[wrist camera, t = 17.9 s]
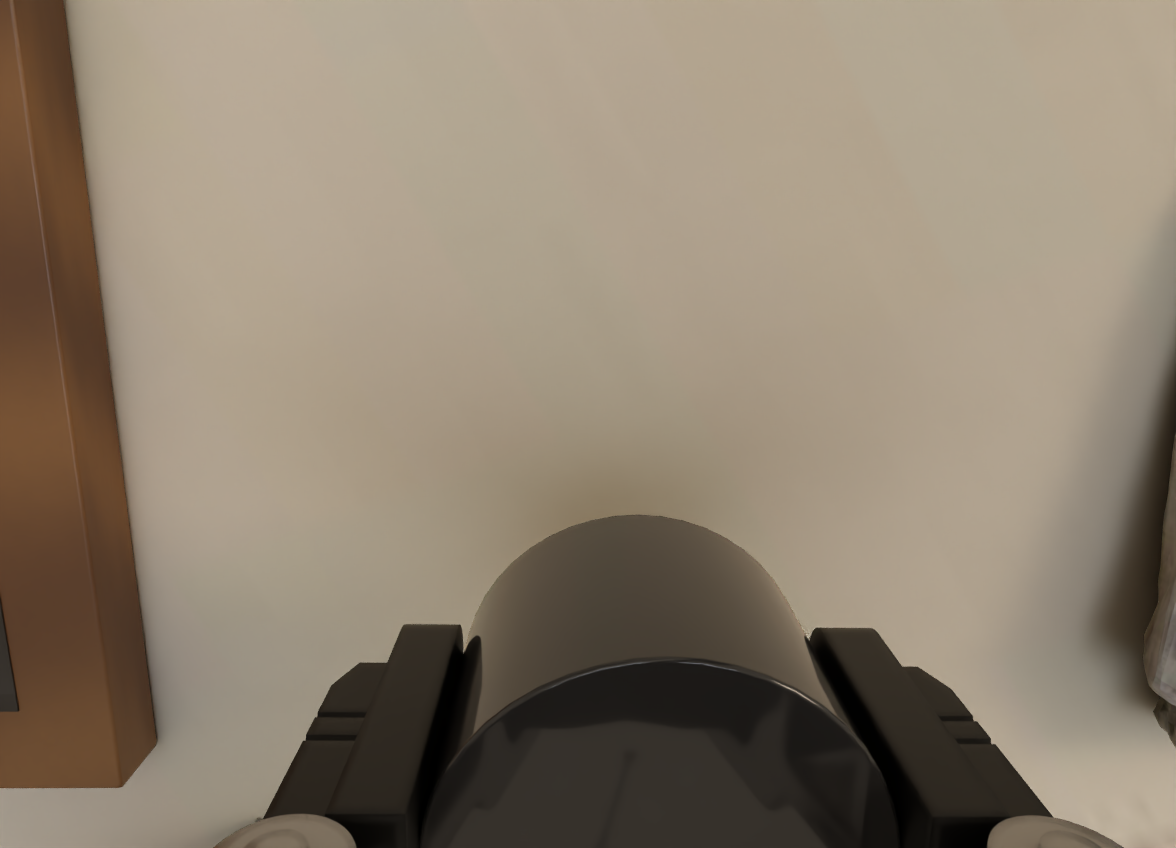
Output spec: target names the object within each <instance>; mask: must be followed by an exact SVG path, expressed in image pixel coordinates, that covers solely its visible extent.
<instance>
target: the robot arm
mask: <svg viewBox="0 0 1176 848" xmlns="http://www.w3.org/2000/svg"><path fill="white" fill-rule="evenodd" d="M810 643H811V645H812V647H813V648H814V650H815V652H816V654H817V656H818V658H819V659H820V661H821V663H822V665H823V667H824V668H825V670H826V672H827V674H828V676H829V677H830V679H831V681H832V683H833V685H834V686H835V688H836V690H837V692H838V694H839V695H840V697H841V699H842V701H843V703H844V704H845V706H846V708H847V710H848V712H849V714H850V715H851V717H852V719H853V721H854V723H855V724H856V726H857V728H858V730H859V732H860V733H861V735H862V737H863V739H864V741H865V742H866V744H867V746H868V748H869V750H870V751H871V753H872V755H873V757H874V759H875V760H876V762H877V764H878V766H879V768H880V770H881V772H882V774H883V776H884V779H885V781H886V783H887V785H888V788H889V790H890V792H891V794H892V798H893V802H894V805H895V809H896V813H897V817H898V820H899V829H900V842H901V847H900V848H1123V847H1122V846H1120V845H1119V844H1117V843H1116V842H1114V841H1113V840H1111V839H1109V838H1107V837H1105V836H1103V835H1101V834H1100V833H1098V832H1095V831H1093V830H1091V829H1089V828H1086V827H1084V826H1081V825H1078V824H1075V823H1072V822H1070V821H1066V820H1062V819H1058V818H1054V817H1053V816H1052V815H1051V814H1050V812H1049V811H1048V810H1047V809H1046V807H1045V806H1044V805H1043V804H1042V802H1041V801H1040V800H1039V799H1038V797H1037V796H1036V795H1035V794H1034V792H1033V791H1032V790H1031V789H1030V787H1029V786H1028V785H1027V784H1026V782H1025V781H1024V780H1023V779H1022V777H1021V776H1020V775H1019V774H1018V772H1017V771H1016V770H1015V768H1014V767H1013V766H1012V765H1011V763H1010V762H1009V761H1008V760H1007V758H1006V757H1005V756H1004V755H1003V753H1002V752H1001V751H1000V750H999V748H998V747H997V746H996V745H995V744H991V738H990V737H989V736H988V735H987V733H986V732H985V731H984V730H983V728H982V727H981V726H980V725H979V723H978V722H977V721H973V716H972V714H971V713H970V712H969V711H968V709H967V708H966V707H965V706H964V704H963V703H962V702H961V701H960V699H959V698H958V697H957V696H956V694H955V693H954V692H953V691H952V689H950V688H949V687H947V686H946V685H944V684H943V683H941V682H940V681H938V680H937V679H935V678H934V677H932V676H931V675H929V674H928V673H926V672H925V671H923V670H922V669H920V668H919V667H902V666H901V664H900V663H899V662H898V660H897V659H896V657H895V656H894V655H893V653H892V652H891V651H890V649H889V648H888V646H887V645H886V644H885V642H884V641H883V640H882V638H881V637H880V635H879V634H878V633H877V632H876V631H875V630H874V629H872V628H815V629H814V630H813V632H812V634H811V637H810ZM462 658H463V635H462V628H461V625H437V624H405V625H403V627H402V629H401V631H400V633H399V636H398V638H397V641H396V643H395V645H394V648H393V650H392V653H391V655H390V657H389V660H388V662H387V663H359V664H357V665H356V666H355V667H354V668H352V669H351V670H350V671H349V672H347V673H346V674H345V675H344V676H342V677H341V678H340V679H339V680H337V681H336V682H335V683H334V684H332V685H331V687H330V689H329V691H328V693H327V695H326V697H325V699H324V701H323V703H322V705H321V707H320V709H319V711H318V716H317V717H315V719H314V720H313V722H312V724H311V726H310V728H309V730H308V732H307V734H306V741H303V742H302V744H301V746H300V748H299V750H298V752H297V754H296V756H295V757H294V759H293V761H292V763H291V765H290V767H289V769H288V771H287V773H286V775H285V777H284V779H283V781H282V783H281V785H280V787H279V789H278V791H277V793H276V794H275V796H274V798H273V800H272V802H271V804H270V806H269V808H268V810H267V812H266V814H265V816H264V818H263V820H261V821H258V822H256V823H253V824H250V825H248V826H246V827H244V828H242V829H240V830H238V831H236V832H234V833H233V834H231V835H230V836H228V837H226V838H225V839H223V840H222V841H221V842H220V843H218V844H217V845H216V846H215V847H213V848H419V832H420V827H421V822H422V818H423V814H424V810H425V806H426V802H427V798H428V794H429V790H430V786H431V782H432V778H433V774H434V770H435V766H436V762H437V758H438V754H439V750H440V746H441V742H442V738H443V734H444V730H445V726H446V722H447V718H448V714H449V710H450V706H451V702H452V698H453V694H454V690H455V686H456V682H457V678H458V674H459V670H460V666H461V662H462Z"/></svg>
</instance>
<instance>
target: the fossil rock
mask: <svg viewBox="0 0 1176 848" xmlns="http://www.w3.org/2000/svg"><path fill="white" fill-rule="evenodd" d="M1158 598H1159V602H1158V604H1157V607H1156V609H1155V611H1154V614H1153V616H1152V619H1151V621H1150V623H1149V625H1148V628H1147V630H1146V632H1145V634H1144V653H1143V662H1144V667H1145V672H1146V677H1147V681H1148V685H1149V686H1150V687H1151V688H1152V689H1153V691H1154V692H1155V693H1157V694H1158V695H1159V696H1160V700H1159V701H1158V703H1157V705H1156V707H1155V709H1154V711H1153V712H1154V715H1155V717H1156V719H1157V721H1158V723H1159V725H1160V727H1161V728H1163V729H1164V730H1165V731H1166V732H1168V735H1169V737H1170V739H1171V741H1172V743H1173V744H1174V746H1175V747H1176V434H1175V439H1174V445H1173V452H1172V461H1171V471H1170V480H1169V490H1168V497H1167V503H1166V508H1165V513H1164V521H1163V532H1162V551H1161V566H1160V572H1159V577H1158Z"/></svg>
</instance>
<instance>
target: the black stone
mask: <svg viewBox="0 0 1176 848" xmlns="http://www.w3.org/2000/svg"><path fill="white" fill-rule="evenodd" d="M900 847H901V842H900V829H899V820H898V817H897V813H896V809H895V805H894V802H893V798H892V794H891V792H890V790H889V788H888V785H887V783H886V781H885V779H884V776H883V774H882V772H881V770H880V768H879V766H878V764H877V762H876V760H875V759H874V757H873V755H872V753H871V751H870V750H869V748H868V746H867V744H866V742H865V741H864V739H863V737H862V735H861V733H860V732H859V730H858V728H857V726H856V724H855V723H854V721H853V719H852V717H851V715H850V714H849V712H848V710H847V708H846V706H845V704H844V703H843V701H842V699H841V697H840V695H839V694H838V692H837V690H836V688H835V686H834V685H833V683H832V681H831V679H830V677H829V676H828V674H827V672H826V670H825V668H824V667H823V665H822V663H821V661H820V659H819V658H818V656H817V654H816V652H815V650H814V648H813V647H812V645H811V643H810V641H809V639H808V638H807V636H806V634H805V632H804V630H803V629H802V627H801V625H800V623H799V621H798V620H797V618H796V616H795V614H794V612H793V611H792V609H791V607H790V605H789V603H788V602H787V600H786V598H785V596H784V595H783V593H782V592H781V590H780V588H779V587H778V585H777V584H776V582H775V581H774V579H773V578H772V577H771V576H770V575H769V574H768V572H767V571H766V570H765V569H764V568H763V567H762V565H761V564H760V563H759V562H757V561H756V560H755V559H754V558H753V557H752V556H751V555H749V554H748V553H747V552H746V551H745V550H744V549H742V548H741V547H739V546H738V545H736V544H734V543H733V542H731V541H730V540H728V539H727V538H725V537H723V536H721V535H719V534H717V533H715V532H713V531H711V530H709V529H707V528H704V527H701V526H698V525H695V524H692V523H689V522H686V521H682V520H677V519H672V518H667V517H662V516H649V515H624V516H612V517H607V518H601V519H595V520H591V521H588V522H584V523H581V524H578V525H575V526H571V527H569V528H567V529H564V530H562V531H560V532H558V533H556V534H553V535H551V536H549V537H547V538H546V539H544V540H542V541H541V542H539V543H538V544H536V545H534V546H533V547H531V548H530V549H528V550H527V551H526V552H525V553H523V554H522V555H521V556H520V557H518V558H517V559H516V560H515V561H514V562H512V563H511V564H510V566H509V567H508V568H507V569H506V570H505V571H504V572H503V573H502V574H501V575H500V576H499V577H498V578H497V580H496V581H495V582H494V584H493V585H492V587H491V588H490V589H489V591H488V592H487V594H486V595H485V597H484V599H483V601H482V602H481V604H480V606H479V608H478V610H477V612H476V614H475V617H474V620H473V622H472V625H471V628H470V631H469V634H468V638H467V642H466V646H465V650H464V654H463V658H462V662H461V666H460V670H459V674H458V678H457V682H456V686H455V690H454V694H453V698H452V702H451V706H450V710H449V714H448V718H447V722H446V726H445V730H444V734H443V738H442V742H441V746H440V750H439V754H438V758H437V762H436V766H435V770H434V774H433V778H432V782H431V786H430V790H429V794H428V798H427V802H426V806H425V810H424V814H423V818H422V822H421V827H420V832H419V848H900Z"/></svg>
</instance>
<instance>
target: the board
mask: <svg viewBox="0 0 1176 848" xmlns="http://www.w3.org/2000/svg"><path fill="white" fill-rule="evenodd" d="M156 743H157V741H156V733H155V725H154V717H153V710H152V702H151V694H150V686H149V678H148V670H147V662H146V654H145V646H144V638H143V630H142V622H141V614H140V606H139V598H138V590H137V582H136V574H135V567H134V559H133V551H132V543H131V535H130V527H129V519H128V511H127V503H126V495H125V487H124V479H123V471H122V463H121V455H120V447H119V439H118V431H117V424H116V416H115V408H114V400H113V392H112V384H111V376H110V368H109V360H108V352H107V344H106V336H105V328H104V320H103V312H102V304H101V296H100V288H99V281H98V273H97V265H96V257H95V249H94V241H93V233H92V225H91V217H90V209H89V201H88V193H87V185H86V177H85V169H84V161H83V153H82V145H81V138H80V130H79V122H78V114H77V106H76V98H75V90H74V82H73V74H72V66H71V58H70V50H69V42H68V34H67V26H66V18H65V10H64V3H63V0H0V788H120V787H122V786H124V784H125V783H126V782H127V781H128V779H129V778H130V777H131V776H132V774H133V773H134V772H135V771H136V769H137V768H138V767H139V766H140V764H141V763H142V762H143V761H144V759H145V758H146V757H147V756H148V754H149V753H150V752H151V751H152V749H153V748H154V747H155V746H156Z"/></svg>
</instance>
